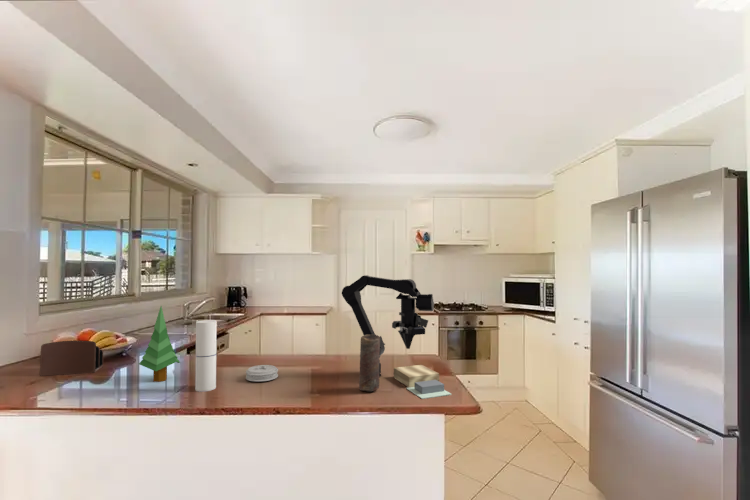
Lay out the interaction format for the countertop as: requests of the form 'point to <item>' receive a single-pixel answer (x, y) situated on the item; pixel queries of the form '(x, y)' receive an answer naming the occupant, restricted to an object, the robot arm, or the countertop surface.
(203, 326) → the cylindrical container
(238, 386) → the countertop surface
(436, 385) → the tile
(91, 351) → the letter holder
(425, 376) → the board
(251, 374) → the lid
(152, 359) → the decorative tree
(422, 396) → the mat
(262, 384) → the countertop surface
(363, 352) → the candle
